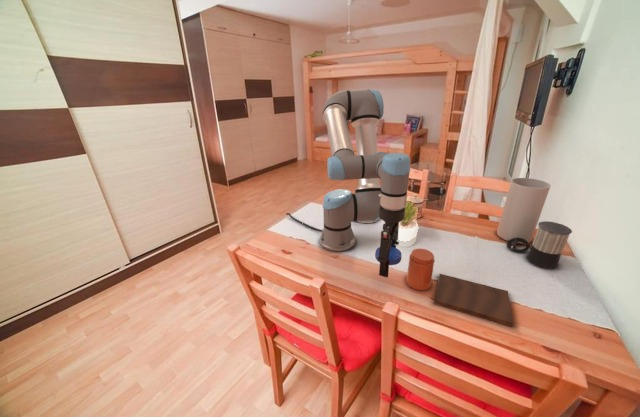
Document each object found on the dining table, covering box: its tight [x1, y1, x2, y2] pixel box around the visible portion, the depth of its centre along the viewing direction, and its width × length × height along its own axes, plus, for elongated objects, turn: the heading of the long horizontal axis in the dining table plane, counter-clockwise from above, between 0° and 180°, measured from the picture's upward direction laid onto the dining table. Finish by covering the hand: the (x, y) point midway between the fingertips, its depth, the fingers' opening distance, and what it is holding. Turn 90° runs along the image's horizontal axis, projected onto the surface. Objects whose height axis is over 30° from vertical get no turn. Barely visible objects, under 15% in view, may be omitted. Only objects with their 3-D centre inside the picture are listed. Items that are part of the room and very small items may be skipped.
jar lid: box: [374, 246, 403, 266], centre depth 86 cm, size 8×8×2 cm
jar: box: [406, 248, 436, 291], centre depth 88 cm, size 8×8×12 cm
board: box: [434, 273, 514, 327], centre depth 82 cm, size 20×14×2 cm
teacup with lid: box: [406, 193, 425, 219], centre depth 136 cm, size 12×9×12 cm
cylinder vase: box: [496, 177, 551, 245], centre depth 109 cm, size 12×12×25 cm
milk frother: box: [505, 220, 573, 270], centre depth 98 cm, size 14×16×15 cm
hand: (387, 267), depth 88 cm, fingers closed on jar lid, 8 cm apart
